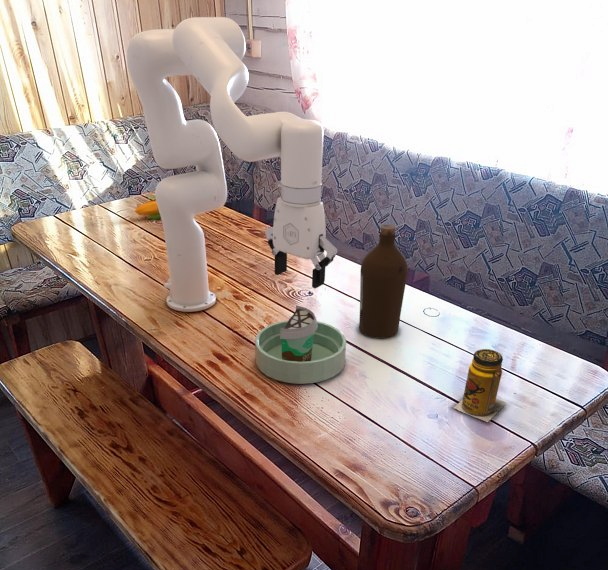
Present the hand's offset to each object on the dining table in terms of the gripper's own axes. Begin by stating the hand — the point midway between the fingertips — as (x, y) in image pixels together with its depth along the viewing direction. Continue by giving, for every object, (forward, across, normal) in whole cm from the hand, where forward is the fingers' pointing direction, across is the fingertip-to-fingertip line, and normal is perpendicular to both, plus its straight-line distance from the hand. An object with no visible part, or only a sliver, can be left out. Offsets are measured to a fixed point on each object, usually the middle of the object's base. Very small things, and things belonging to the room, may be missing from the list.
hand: (299, 279), depth 120 cm
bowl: (+19, +2, -1) cm, 19 cm away
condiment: (+18, +40, +8) cm, 44 cm away
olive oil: (+19, +6, +23) cm, 31 cm away
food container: (+18, +2, 0) cm, 18 cm away
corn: (+21, -101, +48) cm, 113 cm away
